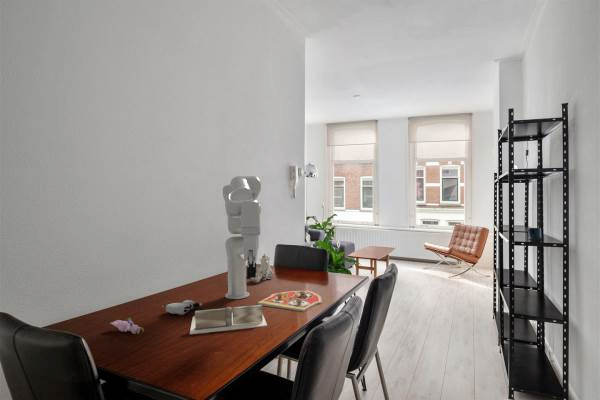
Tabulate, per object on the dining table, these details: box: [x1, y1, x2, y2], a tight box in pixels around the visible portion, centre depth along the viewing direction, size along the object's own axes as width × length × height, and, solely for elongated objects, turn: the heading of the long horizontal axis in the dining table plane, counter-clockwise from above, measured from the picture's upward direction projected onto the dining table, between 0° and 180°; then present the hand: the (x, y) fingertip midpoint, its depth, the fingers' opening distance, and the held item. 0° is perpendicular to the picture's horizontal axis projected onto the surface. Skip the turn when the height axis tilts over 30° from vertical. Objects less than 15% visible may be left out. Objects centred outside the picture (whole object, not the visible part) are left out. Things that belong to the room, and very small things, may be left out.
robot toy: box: [161, 299, 203, 316], centre depth 164 cm, size 12×4×15 cm
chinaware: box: [250, 253, 275, 284], centre depth 226 cm, size 28×17×17 cm, turn 17°
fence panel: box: [232, 304, 263, 325], centre depth 145 cm, size 12×1×7 cm, turn 103°
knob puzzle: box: [257, 290, 323, 313], centre depth 178 cm, size 29×30×4 cm
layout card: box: [189, 312, 268, 335], centre depth 149 cm, size 20×30×1 cm, turn 103°
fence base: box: [194, 306, 233, 329], centre depth 142 cm, size 2×14×8 cm, turn 103°
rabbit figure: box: [109, 317, 145, 335], centre depth 140 cm, size 6×6×15 cm
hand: (252, 275), depth 139 cm, fingers open, 9 cm apart
